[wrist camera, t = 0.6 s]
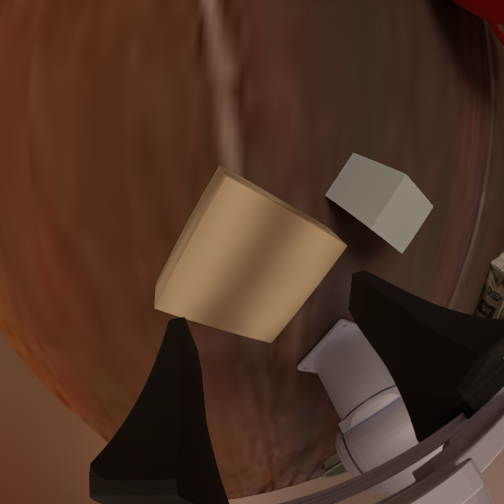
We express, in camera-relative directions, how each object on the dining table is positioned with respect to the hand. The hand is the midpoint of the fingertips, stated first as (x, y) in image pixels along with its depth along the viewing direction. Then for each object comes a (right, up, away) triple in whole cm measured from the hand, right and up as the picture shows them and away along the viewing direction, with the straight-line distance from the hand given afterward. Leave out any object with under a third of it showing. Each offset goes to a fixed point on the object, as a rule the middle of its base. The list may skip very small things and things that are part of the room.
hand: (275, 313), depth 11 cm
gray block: (+7, +8, +9) cm, 14 cm away
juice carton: (+44, -5, +28) cm, 53 cm away
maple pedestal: (-2, +2, +10) cm, 10 cm away
